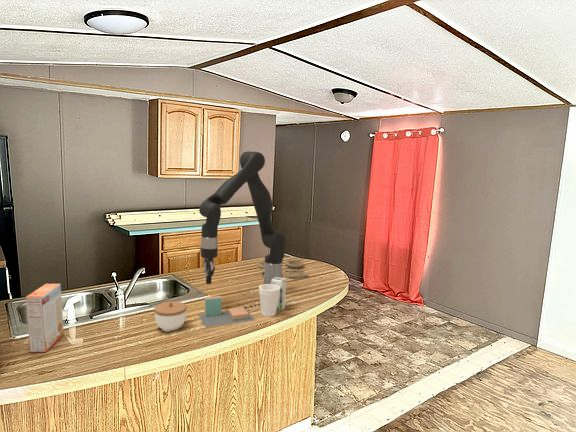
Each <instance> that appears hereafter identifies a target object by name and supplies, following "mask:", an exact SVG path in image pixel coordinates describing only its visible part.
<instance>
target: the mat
mask: <svg viewBox="0 0 576 432" xmlns="http://www.w3.org/2000/svg"><path fill="white" fill-rule="evenodd" d="M244 309H245V310H246V311H247V312H248V314H249V318H248V319H243V320H236V321H233V320H232V319H231V317H230V316H229V315H228V310H222V311H221V315H216V316H208V317H206V316H205V315H204V313H200V314H199V313H198V314H197V315H198V317H199V319H200V322H202V324H203V327H204V328H212V327H218V326H224V325H231V324H238V323H247V322H253V321H256V319H255V318H254V317H253V315H252V314H251V313H250V312H249V311H248V310H247V308H244Z"/></svg>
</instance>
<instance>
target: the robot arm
mask: <svg viewBox="0 0 576 432" xmlns="http://www.w3.org/2000/svg"><path fill="white" fill-rule="evenodd" d="M239 163H240V168H241V169H240V170H239V171H238V172H237V173H236V174H234V175H232V176H231V177H229V178H228V179H227V180H225V181H224V182H223V183H222V184H221V185H220V186H219V187H218V189H217V190H216V191H215V192H214V193H212V194H211V195H210V196H209V197H207V198H206V199H205V200H203V202H202V203H201V204H200V206H199V210H198V212H199V214H200V215H201V216H202V217H204V218H206V219H205V222H204V223H203V224H202V225H201V239H200V257H201V258H202V259H204V260H203V261H202V263H203V269H204V271H203V272H204V273H205V274H204V275H205V284H206V285H211V284H212V276H214V273H215V269H216V266H215V261H214V259H215V258H218V255H219V254H218V252H219V239H218V233H219V232H218V227H219V224H220V220H221V216H222V210H221V207H220V206H222V205H225V204H227V203H228V202H229V201H230V200H231V199H232V198H233V197H234V195H235V194H236V193H237V192H238V191H239V190H240V189H241V188H242V187H243V186H244V185H245V184H246V183H247V186H248V190H249V193H250V197H251V201H252V204H253V208H254V211H255V214H256V218H257V222H258V224H259V230H260V235H261V237H260V238H261V241H262V244H263V245H264V246H265V247H266V248H269V254H267V255H265V257H264V262H265V268H264V273H263V284H271V280H272V279H273V278H275V277H278V278H284V276H283V260H284V257H285V251H286V237H285V235H284V233H282V232H280V231H277V230H275V228H274V226H273V222H272V216H273V210H274V204H273V200H272V197H271V193H270V191H269V189H268V188H267V187H266V185H265V184H264V182H263V181H262V179H261V177H260V174H259V172H260V171H261V170H262V169H263V168H264V166H265V163H266V158H265V156H264V155H263V154H262V152H258V151H244V152H243V153H241V155H240V157H239Z"/></svg>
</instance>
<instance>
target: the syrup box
mask: <svg viewBox="0 0 576 432" xmlns="http://www.w3.org/2000/svg"><path fill="white" fill-rule="evenodd" d="M271 284H274V285H278V286H279V287H280V293H279V299H278V305H277V310H278V311H279V312H282V311H283V310H284V309H285V308H286V296H287V295H286V293H287V278H284V277H283V278H278V277H275V278H273V279H272V280H271ZM277 310H276V311H277Z"/></svg>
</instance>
